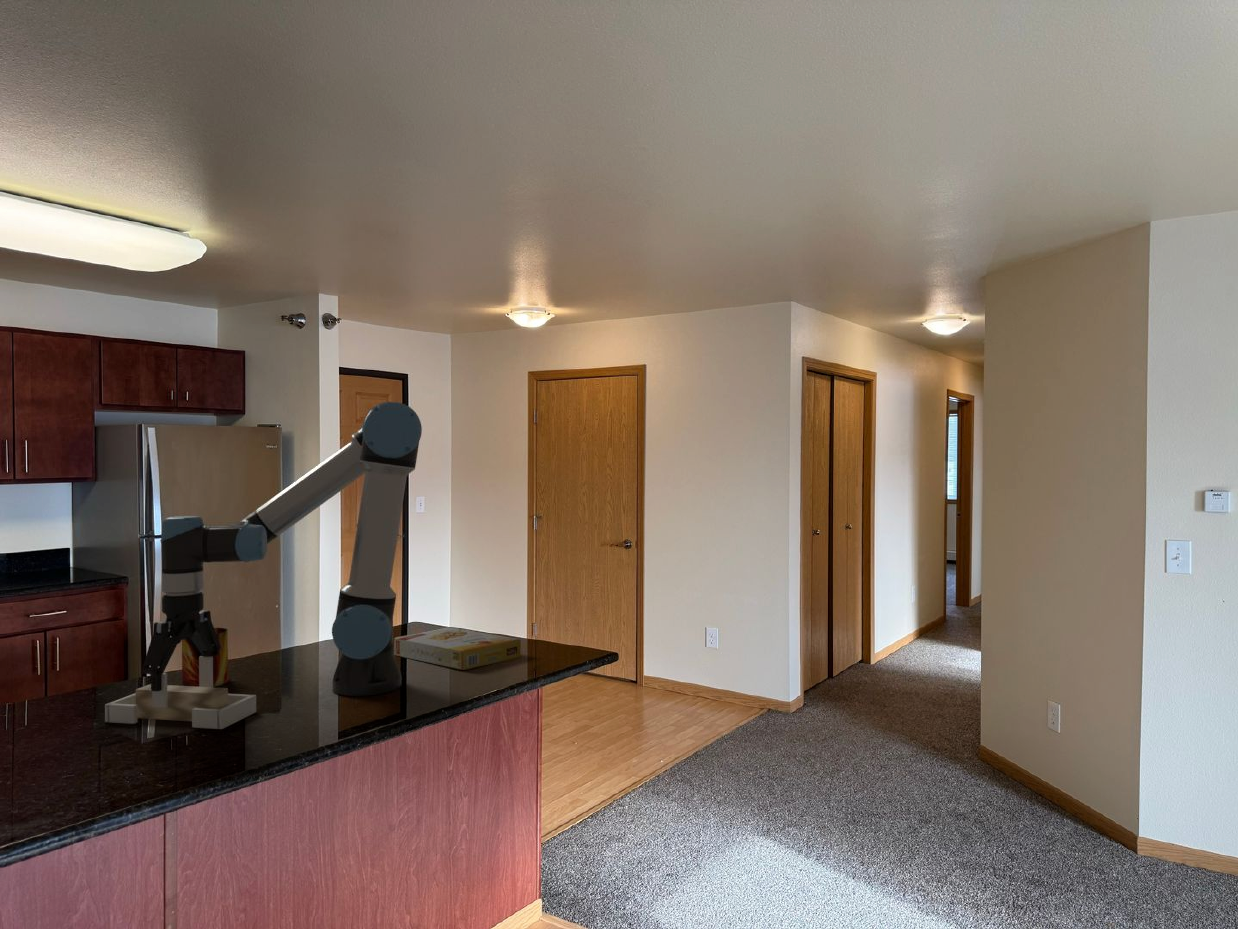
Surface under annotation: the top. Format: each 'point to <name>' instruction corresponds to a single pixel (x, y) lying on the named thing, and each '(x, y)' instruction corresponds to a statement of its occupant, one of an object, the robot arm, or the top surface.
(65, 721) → the top surface
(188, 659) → the mug
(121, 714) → the endcap far
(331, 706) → the top surface
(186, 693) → the wooden block
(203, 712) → the tray
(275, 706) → the top surface
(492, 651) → the cereal box
